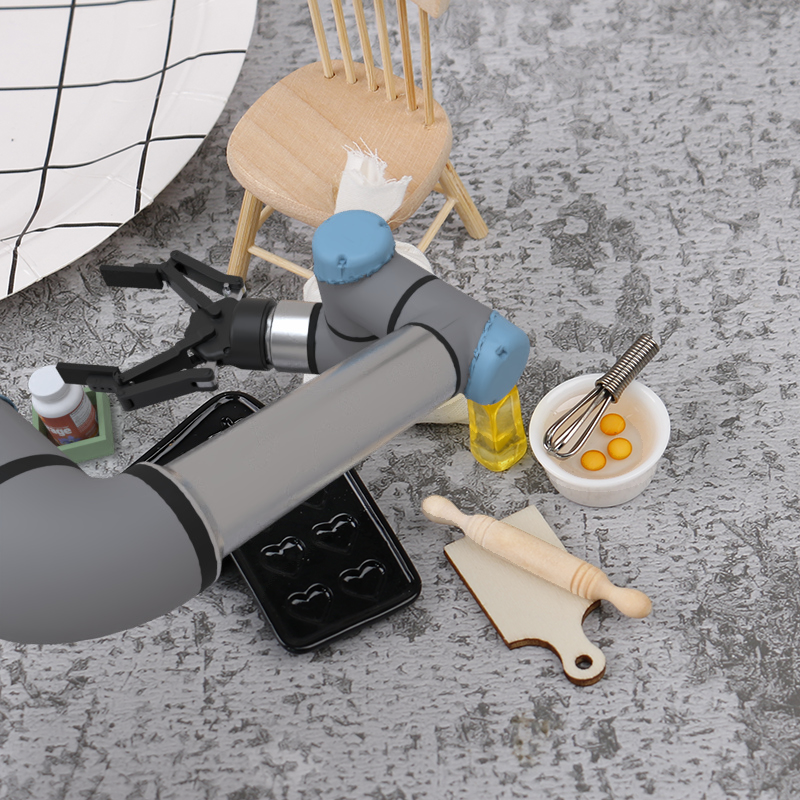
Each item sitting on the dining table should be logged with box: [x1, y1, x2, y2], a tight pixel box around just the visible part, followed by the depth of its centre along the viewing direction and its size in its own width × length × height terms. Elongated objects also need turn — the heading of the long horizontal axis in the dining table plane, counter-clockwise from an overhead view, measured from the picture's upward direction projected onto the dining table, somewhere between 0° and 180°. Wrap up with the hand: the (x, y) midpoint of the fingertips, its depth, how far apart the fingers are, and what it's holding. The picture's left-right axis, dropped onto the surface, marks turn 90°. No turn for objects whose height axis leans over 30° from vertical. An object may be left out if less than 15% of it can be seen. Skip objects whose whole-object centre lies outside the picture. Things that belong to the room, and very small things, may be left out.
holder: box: [31, 386, 115, 464], centre depth 122 cm, size 9×9×4 cm
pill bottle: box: [27, 364, 99, 446], centre depth 118 cm, size 6×6×11 cm
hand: (83, 322), depth 101 cm, fingers open, 13 cm apart
